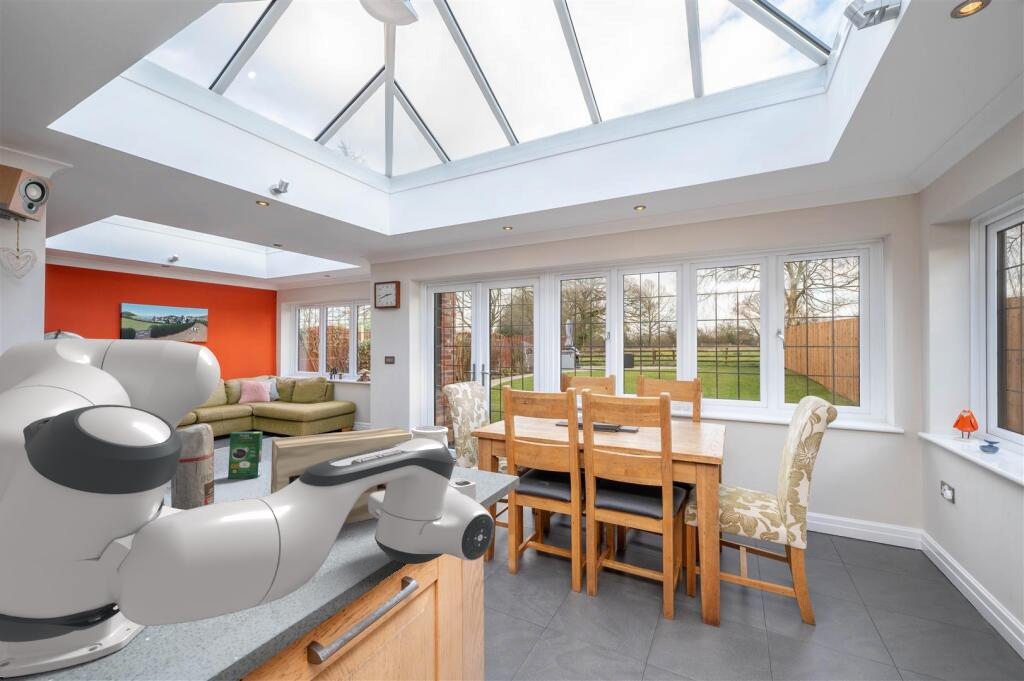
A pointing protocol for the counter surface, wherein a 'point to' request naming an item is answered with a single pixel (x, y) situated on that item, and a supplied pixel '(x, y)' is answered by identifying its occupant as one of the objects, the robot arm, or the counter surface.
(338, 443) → the wooden holder box
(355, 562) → the counter surface
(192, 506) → the paper wrapped package
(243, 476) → the coffee box
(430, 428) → the jar
